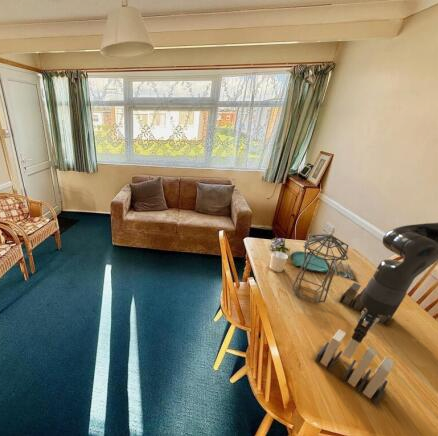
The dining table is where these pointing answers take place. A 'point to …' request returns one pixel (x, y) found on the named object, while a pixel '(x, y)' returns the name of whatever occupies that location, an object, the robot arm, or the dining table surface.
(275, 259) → the white cup
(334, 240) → the geometric lantern
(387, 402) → the dining table surface
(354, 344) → the white book
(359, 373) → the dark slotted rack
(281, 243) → the purple flower bunch
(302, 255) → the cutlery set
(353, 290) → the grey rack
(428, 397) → the dining table surface
